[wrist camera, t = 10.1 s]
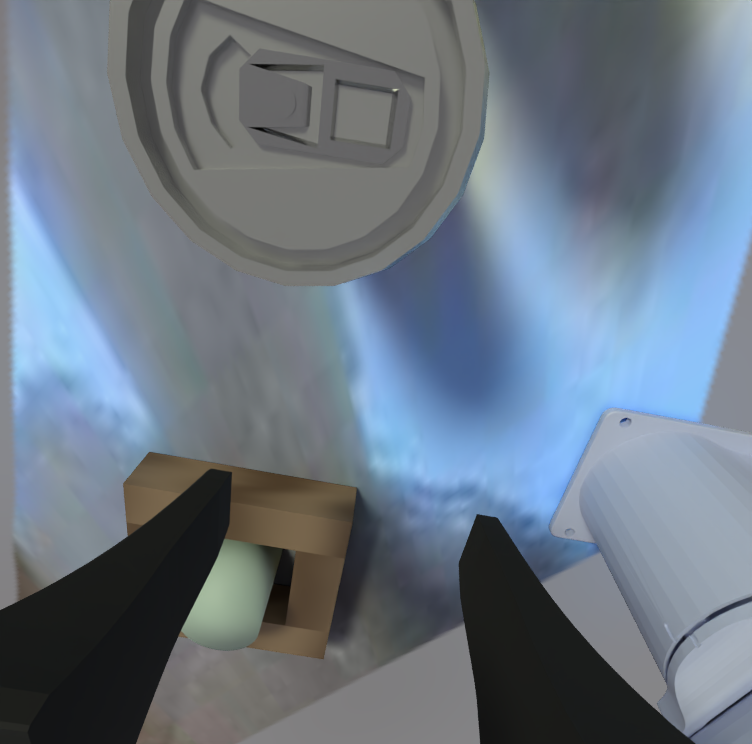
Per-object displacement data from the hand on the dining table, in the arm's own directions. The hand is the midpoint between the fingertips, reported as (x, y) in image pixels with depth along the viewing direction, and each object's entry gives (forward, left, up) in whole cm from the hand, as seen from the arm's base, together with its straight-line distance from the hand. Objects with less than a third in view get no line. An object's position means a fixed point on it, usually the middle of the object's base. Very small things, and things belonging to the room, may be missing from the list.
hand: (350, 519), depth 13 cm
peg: (+5, +12, -9) cm, 16 cm away
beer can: (+2, -10, -9) cm, 14 cm away
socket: (+5, +12, -9) cm, 16 cm away
